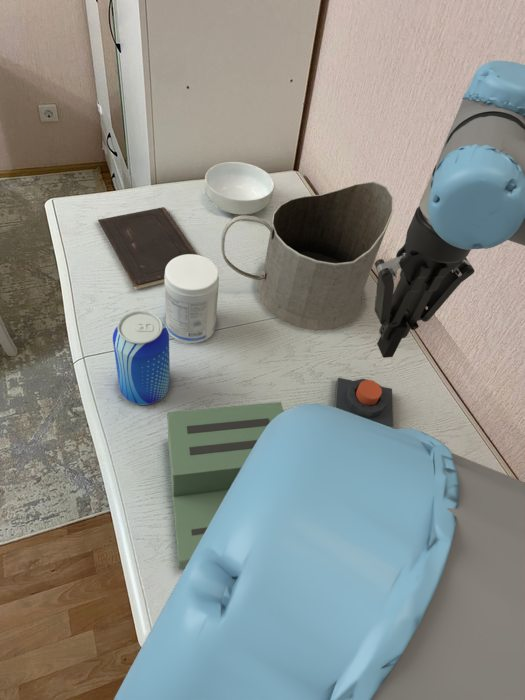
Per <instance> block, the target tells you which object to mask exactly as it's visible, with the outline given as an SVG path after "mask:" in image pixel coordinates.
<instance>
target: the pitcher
mask: <svg viewBox="0 0 525 700" xmlns="http://www.w3.org/2000/svg"><path fill="white" fill-rule="evenodd" d="M393 213H394V195H393V194H392V192H391V191H390V189H389V188H388V187H387V186H386V185H383V184H382V183H380V182H377V181H367V182H361V183H356V184H353V185H350V186H349V185H348V186H346V187H343V188H339V189H336V190H332V191H329V192H326V193H322V194H315V195H305V196H299V197H295V198H291V199H289V200H287V201H285V202H283V203H281V204H280V205H279V206H278V207H277V208H276V210H275V211H274V212H273V214H272V220H271V225H270V224H269V223H268V222H267V221H265V220H264V219H262V218H260V217H257V216H254V215H246V214H245V215H238V216H235V217H233V218H231V219H230V220H229V221H228V222H227V223H226V224H225V225H224V228H223V230H222V234H221V243H220V244H221V245H220V246H221V253H222V254H221V255H222V258H223V260H224V262H225V263H226V264H227V266H229V268H231V269H232V270H233V271H234V272H236V273H238V274H239V275H240V276H243V277H246V278H248V279H252V280H256V281H257V285H256V290H257V293H258V297H259V299H260V301H261V302H262V305H264V306H265V308H266V310H267V311H268V312H269V313H271V314H272V315H274V316H275V317H276V318H278V319H279V320H281V321H282V322H284V323H286V324H289V325H291V326H293V327H296V328H298V329H304V330H311V331H316V332H317V331H328V330H330V331H331V330H335V329H339V328H340V327H343V326H346V325H348V324H350V322H352V321H353V320H354V319H355V318H357V316H358V315H359V313H360V310H361V309H362V304H363V303H362V294H363V292H364V289H365V287H366V284H367V282H368V280H369V276H370V274H371V271H372V268H373V266H374V264H375V262H376V258H377V255H378V253H379V251H380V247H381V245H382V243H383V240H384V237H385V235H386V232H387V229H388V226H389V224H390V222H391V219H392V217H393ZM240 221H252V222H256V223H259V224H261V225H262V226H265V227H266V228H267V229H268V230H269V232H270V233H269V237H268V244H267V250H266V255H265V260H264V267H263V270H262V272H261V273H260V274H259V275H255V274H253V273H249V272H246V271H243V270H241V269H239V268H238V267H236V265H234V264H233V263H232V262H231V261H230V259H228V258H227V255H226V253H225V252H226V251H225V242H226V241H225V240H226V235H227V233H228V231H229V229H230V228H231V227H232V226H233V225H234V224H235V223H236V222H240Z"/></svg>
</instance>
